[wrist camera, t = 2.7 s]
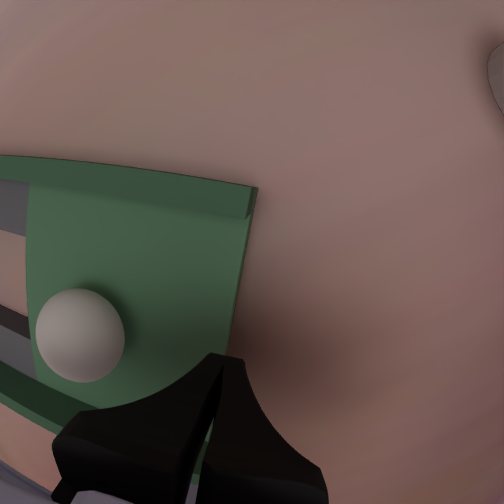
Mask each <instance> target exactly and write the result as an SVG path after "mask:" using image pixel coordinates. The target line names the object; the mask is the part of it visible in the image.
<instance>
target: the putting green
mask: <svg viewBox="0 0 504 504" xmlns="http://www.w3.org/2000/svg"><path fill="white" fill-rule="evenodd" d="M257 191H258V188H256V187H251V186H246V185H241V184H235V183H230V182H224V181H219V180H213V179H207V178H201V177H195V176H189V175H183V174H176V173H170V172H163V171H156V170H149V169H142V168H135V167H127V166H119V165H111V164H103V163H94V162H85V161H75V160H65V159H54V158H42V157H29V156H15V155H0V229H1V230H4V231H8V232H11V233H15V234H18V235H22V236H25V237H26V291H27V307H28V318H27V317H25V316H23V315H21V314H18V313H16V312H14V311H12V310H10V309H8V308H6V307H4V306H1V305H0V402H1V403H2V404H4V405H6V406H7V407H9V408H10V409H12V410H14V411H15V412H17V413H18V414H20V415H22V416H24V417H25V418H27V419H29V420H30V421H32V422H34V423H36V424H38V425H39V426H41V427H43V428H45V429H47V430H49V431H51V432H53V433H55V434H57V435H58V434H59V433H60V431H61V430H62V429H63V428H64V426H65V425H66V424H67V423H68V422H69V421H70V420H71V419H72V418H73V417H74V416H75V415H76V414H77V413H78V412H79V411H87V410H96V409H104V408H110V407H115V406H119V405H123V404H127V403H131V402H134V401H137V400H139V399H142V398H145V397H147V396H150V395H152V394H154V393H156V392H158V391H160V390H162V389H164V388H165V387H167V386H169V385H170V384H172V383H173V382H175V381H176V380H178V379H179V378H181V377H182V376H184V375H185V374H186V373H187V372H189V371H190V370H191V369H192V368H194V367H195V366H196V365H197V364H198V363H199V362H200V361H201V360H202V359H203V358H204V357H205V356H206V355H207V354H209V353H210V352H212V353H216V354H220V355H225V356H226V352H227V347H228V341H229V336H230V331H231V326H232V320H233V315H234V310H235V305H236V299H237V294H238V289H239V284H240V279H241V273H242V268H243V263H244V258H245V253H246V248H247V242H248V237H249V232H250V227H251V222H252V217H253V212H254V206H255V201H256V196H257ZM73 288H80V289H87V290H90V291H93V292H96V293H98V294H99V295H101V296H102V297H104V298H105V299H106V300H107V301H109V302H110V303H111V304H112V306H113V307H114V308H115V310H116V311H117V313H118V315H119V317H120V319H121V321H122V324H123V328H124V336H125V343H124V349H123V353H122V356H121V358H120V361H119V362H118V364H117V365H116V367H115V368H114V369H113V370H112V371H111V372H110V373H109V374H108V375H106V376H105V377H103V378H101V379H99V380H96V381H93V382H87V383H81V382H74V381H70V380H67V379H65V378H63V377H61V376H59V375H58V374H56V373H55V372H54V371H53V370H52V369H51V368H50V367H49V366H48V365H47V364H46V363H45V361H44V360H43V358H42V356H41V354H40V352H39V349H38V346H37V342H36V323H37V319H38V316H39V313H40V311H41V309H42V308H43V306H44V304H45V303H46V302H47V301H48V300H49V299H50V298H51V297H52V296H54V295H55V294H57V293H59V292H61V291H64V290H67V289H73ZM213 419H214V418H213ZM212 427H213V420H212V423H211V426H210V428H209V431H208V433H207V436H206V439H205V441H204V444H203V446H202V449H201V451H200V454H199V456H198V459H197V462H196V465H195V468H194V472H193V475H192V479H191V484H195V485H198V482H199V478H200V472H201V467H202V461H203V457H204V454H205V451H206V448H207V445H208V442H209V439H210V435H211V432H212Z"/></svg>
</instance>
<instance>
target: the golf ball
mask: <svg viewBox="0 0 504 504" xmlns="http://www.w3.org/2000/svg"><path fill="white" fill-rule="evenodd" d="M36 342H37V346H38V349H39V352H40V354H41V356H42V358H43V360H44V361H45V363H46V364H47V365H48V366H49V367H50V368H51V369H52V370H53V371H54V372H55V373H56V374H58V375H59V376H61V377H63V378H65V379H67V380H70V381H74V382H81V383H87V382H93V381H96V380H99V379H101V378H103V377H105V376H106V375H108V374H109V373H110V372H111V371H112V370H113V369H114V368H115V367H116V365H117V364H118V362H119V361H120V358H121V356H122V353H123V349H124V343H125V336H124V328H123V324H122V321H121V319H120V317H119V315H118V313H117V311H116V310H115V308H114V307H113V306H112V304H111V303H110V302H109V301H107V300H106V299H105V298H104V297H102V296H101V295H99V294H98V293H96V292H93V291H90V290H87V289H80V288H73V289H67V290H64V291H61V292H59V293H57V294H55V295H54V296H52V297H51V298H50V299H49V300H48V301H47V302H46V303H45V304H44V306H43V308H42V309H41V311H40V313H39V316H38V319H37V323H36Z"/></svg>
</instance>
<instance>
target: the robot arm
mask: <svg viewBox="0 0 504 504" xmlns="http://www.w3.org/2000/svg"><path fill="white" fill-rule="evenodd" d="M213 418H214V419H213ZM212 420H213V427H212V432H211V435H210V439H209V442H208V445H207V448H206V451H205V454H204V457H203V461H202V467H201V472H200V478H199V482H198V485H195V484H191V479H192V475H193V472H194V468H195V465H196V462H197V459H198V456H199V454H200V451H201V449H202V446H203V444H204V441H205V439H206V436H207V433H208V431H209V428H210V426H211V423H212ZM52 451H53V455H54V458H55V461H56V464H57V467H58V469H59V472H60V475H61V477H62V479H61V481H60V482H59V484H58V485H57V487H56V488H55V490H54V491H53V492H52V491H50V490H48V489H46V488H44V487H43V486H41V485H39V484H37V483H36V482H34V481H32V480H31V479H29V478H27V477H26V476H24V475H23V474H21V473H19V472H18V471H16V470H15V469H13V468H12V467H10V466H9V465H7V464H6V463H4V462H3V461H2V460H0V504H329V498H328V491H327V487H326V484H325V481H324V478H323V475H322V472H321V469H320V468H319V467H317V466H316V465H314V464H313V463H312V462H310V461H309V460H307V459H306V458H305V457H303V456H302V455H301V454H299V453H298V452H297V451H296V450H295V449H294V448H293V447H291V446H290V445H289V444H288V443H287V442H286V441H285V440H284V439H283V438H282V436H281V435H280V434H279V433H278V432H277V431H276V430H275V428H274V427H273V426H272V424H271V423H270V422H269V420H268V419H267V417H266V416H265V414H264V412H263V411H262V409H261V407H260V405H259V403H258V401H257V399H256V397H255V395H254V393H253V390H252V388H251V385H250V383H249V380H248V377H247V373H246V369H245V362H244V361H243V359H239V358H234V357H230V356H225V355H220V354H216V353H212V352H210V353H209V354H207V355H206V356H205V357H204V358H203V359H202V360H201V361H200V362H199V363H198V364H197V365H196V366H195V367H194V368H192V369H191V370H190V371H189V372H187V373H186V374H185V375H184V376H182V377H181V378H179V379H178V380H176V381H175V382H173V383H172V384H170V385H169V386H167V387H165V388H164V389H162V390H160V391H158V392H156V393H154V394H152V395H150V396H147V397H145V398H142V399H139V400H137V401H134V402H131V403H127V404H123V405H119V406H115V407H110V408H104V409H96V410H87V411H79V412H78V413H77V414H76V415H75V416H74V417H73V418H72V419H71V420H70V421H69V422H68V423H67V424H66V425H65V426H64V428H63V429H62V430H61V431H60V433H59V434H58V435H57V436H56V438H55V439H54V440H53V443H52Z"/></svg>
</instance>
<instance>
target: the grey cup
mask: <svg viewBox="0 0 504 504" xmlns="http://www.w3.org/2000/svg"><path fill="white" fill-rule="evenodd" d="M487 69H488V81H489V84H490V87H491V90H492V93H493V96H494V99H495V100H496V102H497V104H498V106H499V108H500V109H501V111H502V113H503V115H504V43H503V44H501V45H500V46H499V47H497V48H496V49H495V50H494V51H492V52H491V54H490V57H489V60H488V62H487Z"/></svg>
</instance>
